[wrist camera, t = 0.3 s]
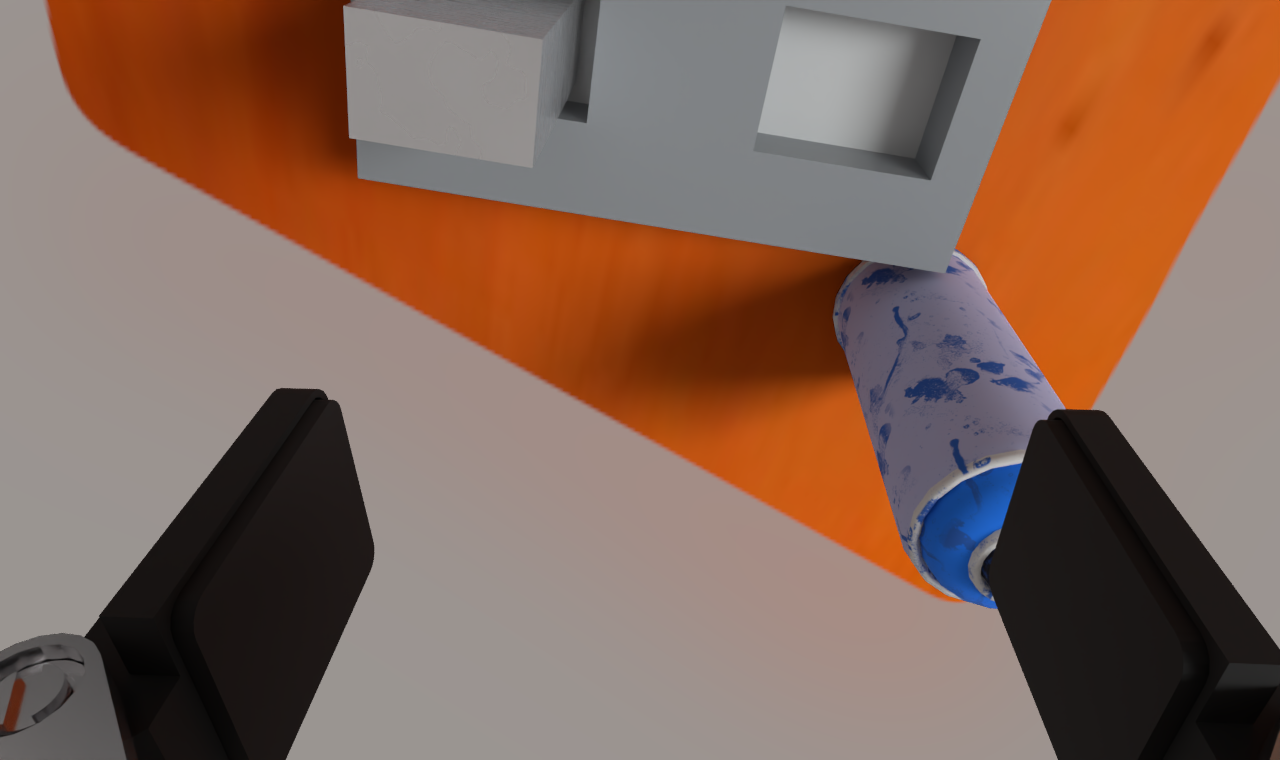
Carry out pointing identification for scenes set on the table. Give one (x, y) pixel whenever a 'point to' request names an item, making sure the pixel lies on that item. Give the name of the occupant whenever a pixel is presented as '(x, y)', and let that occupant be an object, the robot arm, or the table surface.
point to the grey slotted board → (769, 123)
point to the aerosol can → (942, 410)
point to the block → (461, 74)
